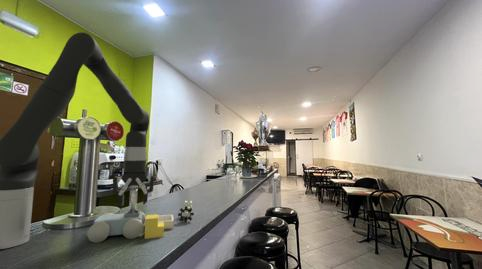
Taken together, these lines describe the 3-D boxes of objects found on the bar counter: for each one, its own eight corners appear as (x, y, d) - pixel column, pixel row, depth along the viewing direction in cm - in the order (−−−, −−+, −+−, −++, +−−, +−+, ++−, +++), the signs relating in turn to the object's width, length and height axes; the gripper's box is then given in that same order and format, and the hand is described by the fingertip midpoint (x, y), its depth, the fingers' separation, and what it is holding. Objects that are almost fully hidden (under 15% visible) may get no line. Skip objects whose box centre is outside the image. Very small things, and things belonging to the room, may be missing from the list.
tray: (148, 231, 80) (148, 222, 80) (149, 223, 88) (150, 216, 88) (173, 228, 83) (173, 220, 83) (172, 221, 91) (173, 214, 91)
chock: (144, 238, 73) (145, 219, 73) (145, 233, 77) (146, 215, 78) (163, 236, 75) (164, 217, 75) (163, 231, 79) (164, 213, 80)
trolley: (86, 243, 68) (88, 220, 69) (98, 230, 80) (99, 210, 81) (141, 237, 73) (142, 215, 74) (145, 225, 86) (146, 207, 86)
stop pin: (126, 217, 77) (128, 185, 78) (128, 214, 80) (129, 184, 81) (137, 216, 78) (138, 185, 79) (138, 213, 81) (139, 184, 82)
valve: (181, 215, 102) (177, 223, 90) (181, 200, 102) (178, 206, 90) (195, 214, 103) (193, 222, 91) (195, 200, 103) (194, 206, 92)
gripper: (156, 159, 87) (154, 201, 85) (115, 159, 82) (113, 204, 80) (155, 159, 80) (153, 205, 78) (111, 159, 75) (108, 208, 73)
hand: (133, 204), depth 79 cm, fingers open, 7 cm apart
